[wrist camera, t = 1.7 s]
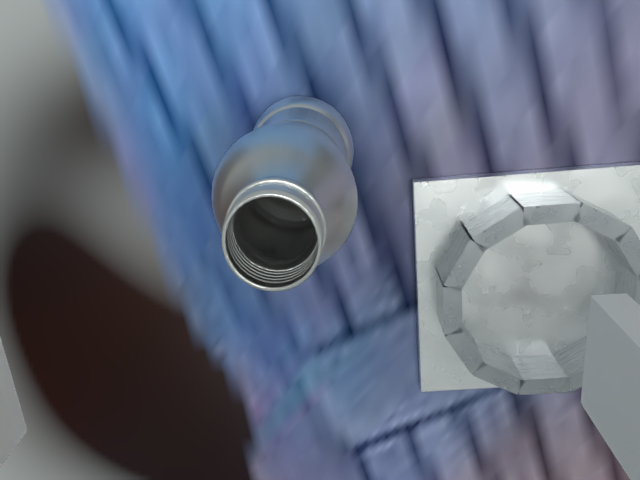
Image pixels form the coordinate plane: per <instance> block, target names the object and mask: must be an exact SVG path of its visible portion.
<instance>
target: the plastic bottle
mask: <svg viewBox="0 0 640 480" xmlns="http://www.w3.org/2000/svg"><path fill="white" fill-rule="evenodd" d="M353 155H354V148H353V140H352V136H351V132H350V130H349V128H348V125H347V123H346V122H345V120H344V119H343V117H342V116H341V115H340V113H338V112H337V111H336V110H335V109H334V108H333V107H332V106H330V105H329V104H327V103H326V102H324V101H322V100H319V99H316V98H314V97H308V96H292V97H288V98H284V99H281V100H280V101H278V102H276V103H274V104H272V105H271V106H270V107H269V108H268V109H266V110H265V111H264V112H263V114H262V115H261V116H260V118H259V119H258V121H257V123H256V125H255V127H254V129H253V131H251V132H249V133H247V134H245V135H243V136H242V137H241V138H240V139H238V140H237V141H236V142H235V143H233V144H232V145H231V146H230V148H229V149H228V150H227V151H226V153H225V154H224V155H223V157H222V158H221V160H220V163H219V165H218V167H217V169H216V172H215V175H214V179H213V183H212V205H213V212H214V216H215V219H216V222H217V225H218V228H219V230H220V232H221V234H222V240H221V242H222V249H223V253H224V256H225V259H226V261H227V263H228V265H229V267H230V268H231V270H232V271H233V272H234V273H235V274H236V276H237V277H239V278H240V279H241V280H242V281H244V282H245V283H247V284H248V285H250V286H252V287H254V288H257V289H260V290H265V291H272V292H273V291H284V290H288V289H291V288H294V287H296V286H298V285H300V284H301V283H302V282H304V281H305V280H307V279H308V277H309V276H310V275H311V274H312V273H313V272H314V270H315V268H316V267H317V266H318V265H320V264H322V263H323V262H324V261H326V260H327V259H329V258H330V257H331V256H333V255H334V254H335V253H336V252H337V251H338V250H339V249H340V248H341V247H342V245H343V244H344V243H345V241H346V240H347V238H348V236H349V235H350V233H351V231H352V228H353V225H354V222H355V220H356V214H357V207H358V197H357V187H356V184H355V180H354V176H353V173H352V171H351V166H352V163H353Z"/></svg>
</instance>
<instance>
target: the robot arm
mask: <svg viewBox="0 0 640 480" xmlns="http://www.w3.org/2000/svg"><path fill="white" fill-rule="evenodd" d="M581 404H582V406H583V407H584V409H585V410H586V412H587V414H588V415H589V417H590V418H591V420H592V421H593V423H594V424H595V426H596V427H597V429H598V431H599V432H600V434H601V435H602V437H603V438H604V440H605V441H606V443H607V444H608V446H609V447H610V449H611V451H612V452H613V454H614V455H615V457H616V458H617V460H618V461H619V463H620V464H621V466H622V467H623V469H624V471H625V472H626V474H627V475H628V477H629V478H630V480H640V305H639V304H638V303H637V302H635V301H634V300H633V299H632V298H631V297H630V296H629V295H628V294H627V293H622V294H605V295H590V305H589V316H588V327H587V339H586V350H585V361H584V372H583V383H582V394H581ZM26 432H27V427H26V424H25V420H24V417H23V414H22V410H21V407H20V403H19V400H18V396H17V393H16V389H15V386H14V383H13V379H12V376H11V372H10V369H9V365H8V362H7V358H6V355H5V352H4V348H3V345H2V341H1V338H0V467H1V465H2V464H3V463H4V461H5V460H6V459H7V457H8V456H9V455H10V453H11V452H12V451H13V449H14V448H15V447H16V445H17V444H18V442H19V441H20V440H21V439H22V437H23V436H24V434H25V433H26Z"/></svg>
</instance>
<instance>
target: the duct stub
mask: <svg viewBox="0 0 640 480" xmlns="http://www.w3.org/2000/svg"><path fill="white" fill-rule="evenodd" d="M412 194H413V220H414V247H415V273H416V299H417V325H418V351H419V377H420V388H421V392H426V391H444V390H461V389H479V388H496V387H500V388H502V389H505V390H507V391H509V392H512V393H514V394H516V395H517V393H518V394H519V395H530V394H547V393H565V392H570V388H571V390H572V391H575V390H576V389H578V388H580V387H582V383H583V372H584V361H585V350H586V339H587V327H588V316H589V305H590V295H605V294H622V293H627V294H628V295H629V296H630V297H631V298H632V299H633V300H634V301H635V302H637V303H638V304H639V305H640V161H637V162H624V163H611V164H599V165H586V166H573V167H560V168H547V169H534V170H521V171H508V172H496V173H483V174H470V175H457V176H444V177H431V178H418V179H412Z"/></svg>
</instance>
